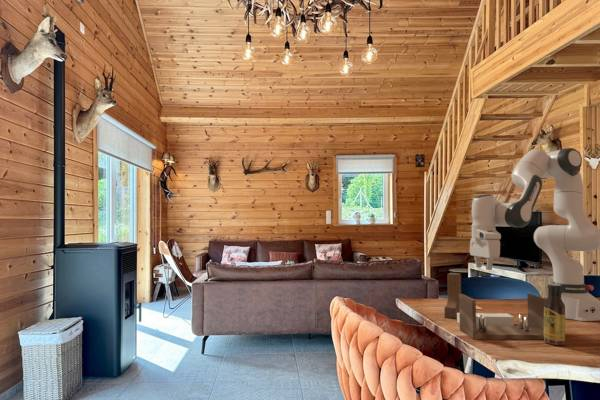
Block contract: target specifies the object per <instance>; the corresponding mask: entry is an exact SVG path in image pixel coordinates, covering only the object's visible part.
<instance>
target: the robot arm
mask: <svg viewBox="0 0 600 400" xmlns="http://www.w3.org/2000/svg"><path fill="white" fill-rule="evenodd" d="M582 163H583V158H582V155H581V154H580V152H579V151H578V150H577V149H575V148H574V147H566V148H565V147H564V148H562V149H557V150H553V151H550V152H548V153H547V152H545V151H544V150H542V149H540V148H534V149H531V150H529V151H528V152H526V153H525V154H524V155H523V156H522V158H521V159H519V161H518V162H517V164H516V165H515V166H514V167H513V169H512V171H511V174H510V177H511V181H512V183H513V184H514V185H515V186H516V187H517V188H518V189H520V190H522V194H521V196H520V197H519V199H518V200H516V201H512V202H501V201H498V200H497V199H496V198H495V197H494V195H493V194H491V193H488V194H487V193H486V194H479V195H476V196H474V197H473V199H472V202H471V218H472V224H471V238H470V241H469V254H470V256H473V258H474V261H475V267H476V268H479V269H480V268H482V261H481V259H482V258H485V259H486V265H485V269H486V270H487V271H491V270H493V263H494V261H495V260H498V259H499V258H500V255H501V241H500V240H501V238H502V235H501V233H500V232H498V231H497V229H496V227H502V228H503V227H512V228H517V229H519V228H521V229H522V228H524V227H526V226H527V225H528V224H529V223H530V222H531V219H532V216H533V210H534V208H535V205H536V204H537V201H538V198H539V196H540V194H541V191H542V189H543V180H547V179H550V178H553V179H554V187H553V188H554V189H553V212H554V213H555V214H556V215H557V216H559V217H561V218H562V219H565V220H567V221H568V224H566V225H565V224H549V225H542V226H538V227H537V228H536V229H535V231H534V232H533V242H534V243H535V244H536V246H537V247H538V248H539V249H541V250H543V252H544V253H545V254H546V255H547V256H548V258H549V259H550V262H551V265H552V273H553V274H552V277H553V281H552V283H553V284H560V285H562V289H561V299H562V301H563V303H564V305H565V320H567V319H568V320H575V321H580V322H592V321H594V322H596V321H600V300H599V299H598V298H596V297H595V296H593V295H592V294H591V293H589V291H593V290H594V286H593V285H591V284H586V283H585V275H584V274H585V271H584V270H585V269H584V266H583V265H582V263H581V262H579V261H578V260H576V259H574V258H572V257H570V256H569V255H568V253H567V251H569V252H570V251H571V252H591V251H598V250H599V249H600V228H599V227H597V226H596V225H594V224H593V223H592V222H591V221H590V220H589V219H588V217H587V216H586V212H585V205H584V204H585V203H584V183H583V178H582V175H581V173H580V170H581V167H582ZM494 259H495V260H494Z"/></svg>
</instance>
